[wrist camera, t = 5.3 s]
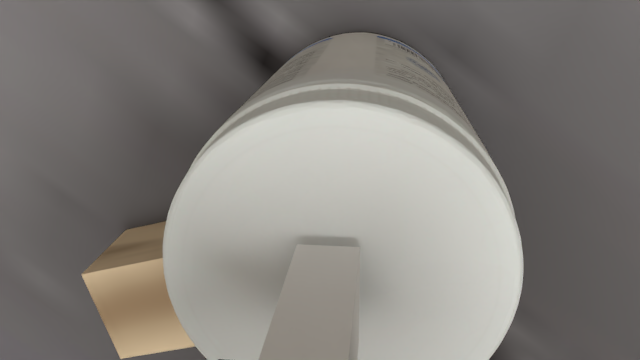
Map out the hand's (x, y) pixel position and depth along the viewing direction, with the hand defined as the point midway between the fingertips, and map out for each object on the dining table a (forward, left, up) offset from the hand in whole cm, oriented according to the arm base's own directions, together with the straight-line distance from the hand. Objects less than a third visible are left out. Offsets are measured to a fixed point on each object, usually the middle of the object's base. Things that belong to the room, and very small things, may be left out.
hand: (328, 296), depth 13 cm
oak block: (-8, +10, -15) cm, 20 cm away
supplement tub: (0, 0, -16) cm, 16 cm away
